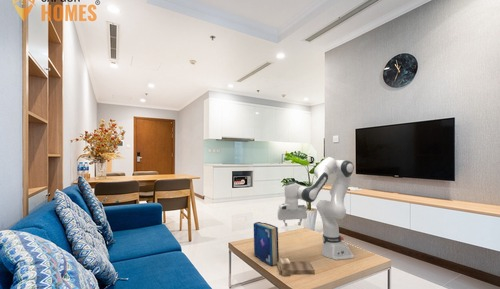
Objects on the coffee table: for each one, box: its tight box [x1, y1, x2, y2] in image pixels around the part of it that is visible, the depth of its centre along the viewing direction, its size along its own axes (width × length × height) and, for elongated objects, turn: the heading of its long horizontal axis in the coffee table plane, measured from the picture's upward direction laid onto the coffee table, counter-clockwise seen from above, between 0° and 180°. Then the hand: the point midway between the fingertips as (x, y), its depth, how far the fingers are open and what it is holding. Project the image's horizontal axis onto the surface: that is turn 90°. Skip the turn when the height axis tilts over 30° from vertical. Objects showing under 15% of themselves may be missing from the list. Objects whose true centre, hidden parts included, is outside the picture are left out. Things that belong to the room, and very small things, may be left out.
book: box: [253, 221, 280, 267], centre depth 166 cm, size 22×7×25 cm, turn 35°
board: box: [276, 260, 315, 276], centre depth 151 cm, size 22×12×2 cm, turn 91°
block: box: [279, 257, 291, 277], centre depth 147 cm, size 5×8×7 cm, turn 1°
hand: (292, 225), depth 161 cm, fingers open, 8 cm apart
